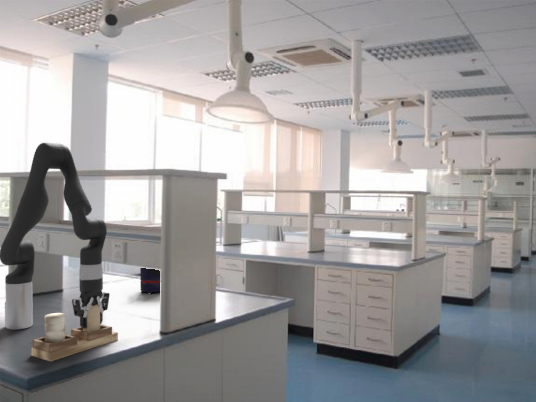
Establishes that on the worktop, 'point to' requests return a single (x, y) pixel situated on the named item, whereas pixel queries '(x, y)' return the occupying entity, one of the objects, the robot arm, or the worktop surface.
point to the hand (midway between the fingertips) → (91, 325)
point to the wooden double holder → (68, 339)
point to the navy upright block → (150, 280)
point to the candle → (93, 319)
